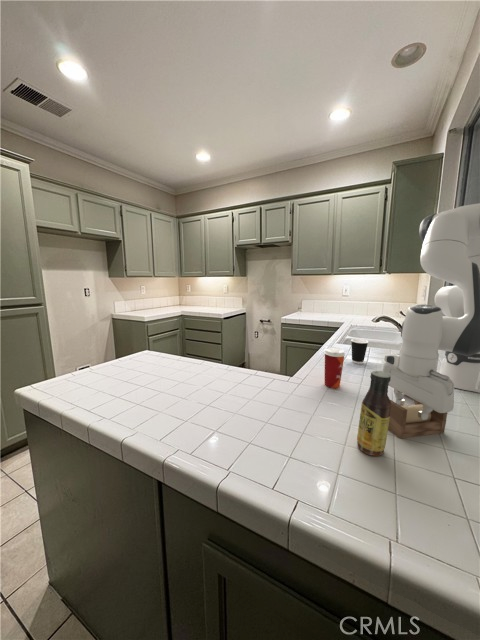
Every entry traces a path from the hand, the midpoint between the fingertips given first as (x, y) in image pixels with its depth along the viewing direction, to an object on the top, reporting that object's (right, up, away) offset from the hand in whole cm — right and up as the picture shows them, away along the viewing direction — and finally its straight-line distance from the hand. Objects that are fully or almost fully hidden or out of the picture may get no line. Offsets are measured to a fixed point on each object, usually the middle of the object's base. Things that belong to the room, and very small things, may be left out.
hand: (410, 411), depth 75 cm
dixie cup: (+10, +5, +56) cm, 58 cm away
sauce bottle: (-16, -6, -10) cm, 20 cm away
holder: (0, -5, +1) cm, 5 cm away
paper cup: (-12, 0, +28) cm, 31 cm away
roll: (0, -4, +1) cm, 4 cm away
